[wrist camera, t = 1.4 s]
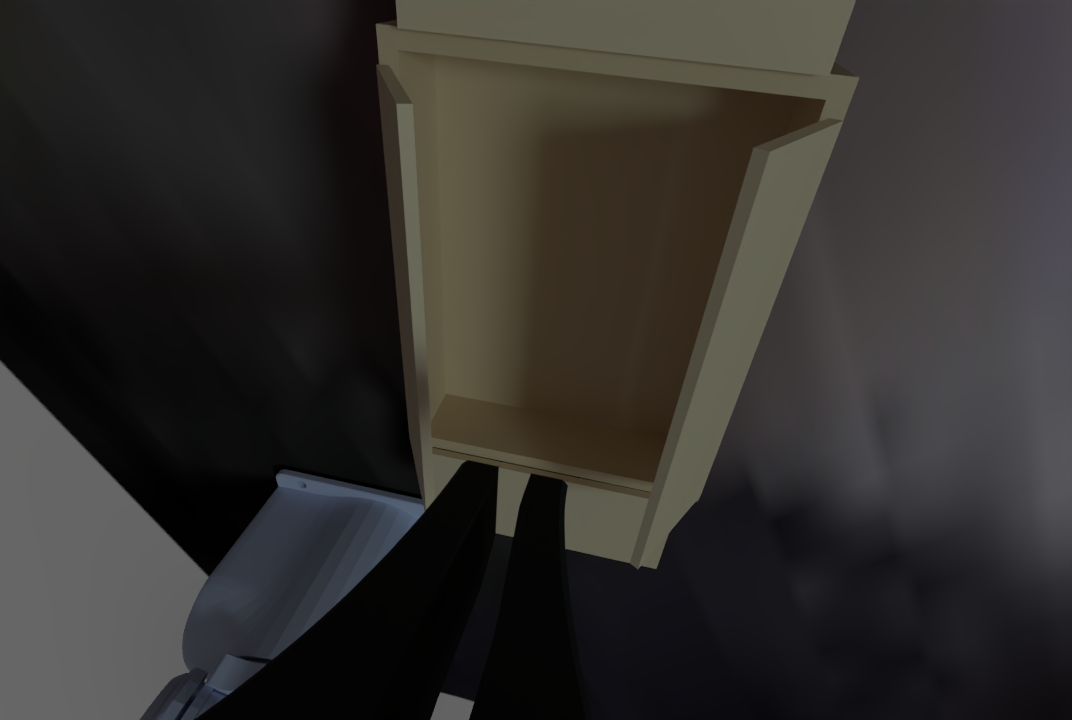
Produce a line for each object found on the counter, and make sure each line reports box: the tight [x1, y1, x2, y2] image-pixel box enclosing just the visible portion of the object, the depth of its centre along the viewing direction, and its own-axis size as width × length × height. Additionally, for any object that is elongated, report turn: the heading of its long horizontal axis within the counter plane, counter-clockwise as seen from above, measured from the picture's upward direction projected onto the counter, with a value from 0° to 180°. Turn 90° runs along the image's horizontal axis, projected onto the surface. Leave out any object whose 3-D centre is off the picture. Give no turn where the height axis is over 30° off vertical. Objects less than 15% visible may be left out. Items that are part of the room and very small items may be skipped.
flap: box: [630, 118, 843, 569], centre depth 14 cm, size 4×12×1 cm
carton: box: [376, 0, 860, 569], centre depth 18 cm, size 11×22×3 cm, turn 176°
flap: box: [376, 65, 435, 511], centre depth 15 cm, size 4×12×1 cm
